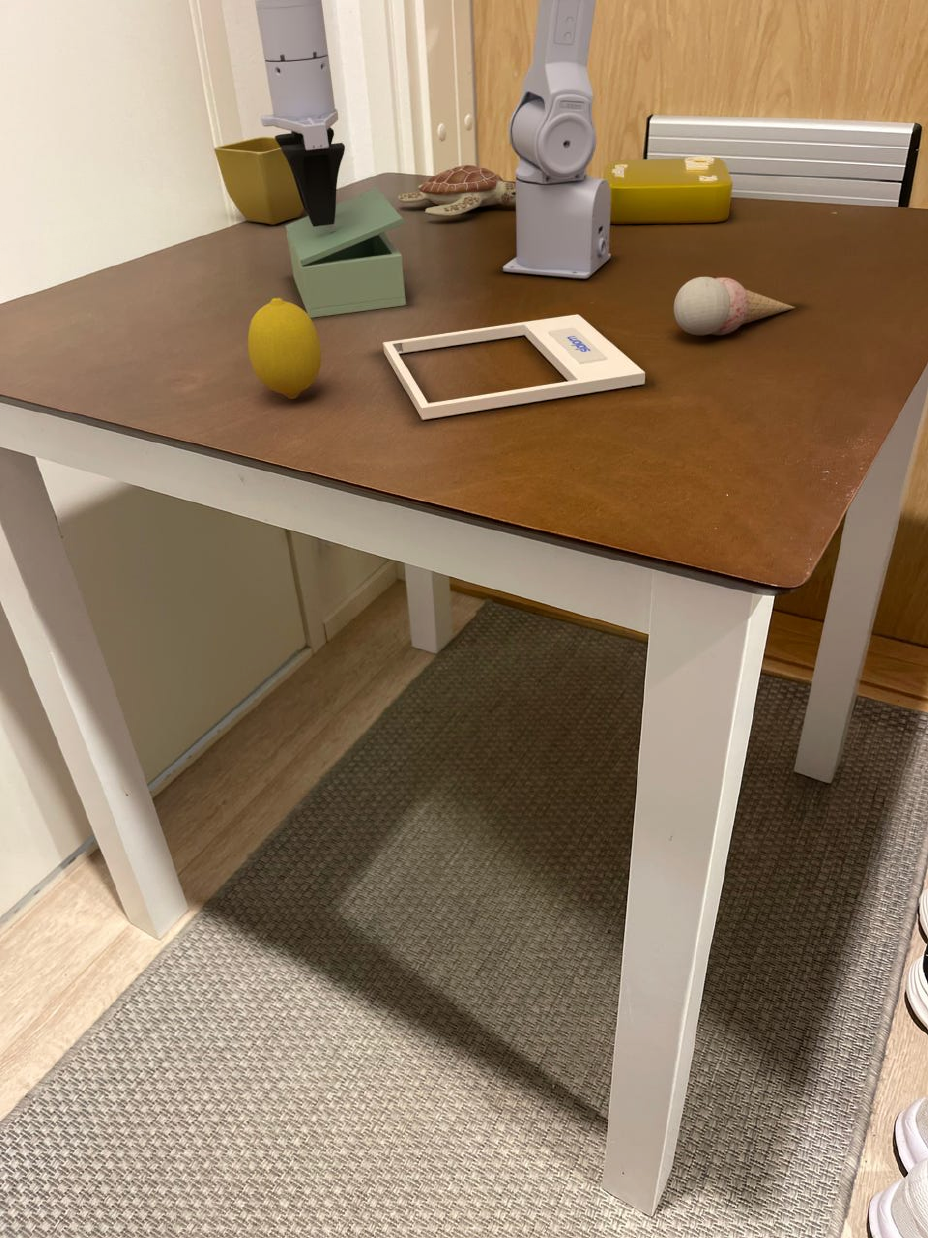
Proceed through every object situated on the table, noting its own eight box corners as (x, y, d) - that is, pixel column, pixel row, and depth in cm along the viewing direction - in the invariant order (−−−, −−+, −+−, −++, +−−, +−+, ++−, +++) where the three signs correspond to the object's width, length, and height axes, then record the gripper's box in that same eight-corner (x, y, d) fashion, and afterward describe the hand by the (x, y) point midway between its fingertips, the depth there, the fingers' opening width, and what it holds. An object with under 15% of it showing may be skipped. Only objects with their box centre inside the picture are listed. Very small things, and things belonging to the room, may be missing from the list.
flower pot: (274, 208, 127) (262, 134, 122) (321, 215, 123) (311, 139, 117) (226, 223, 122) (211, 147, 116) (274, 231, 117) (261, 152, 112)
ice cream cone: (776, 339, 88) (664, 340, 80) (772, 287, 88) (659, 284, 80) (819, 328, 84) (707, 328, 76) (815, 274, 84) (701, 268, 76)
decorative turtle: (495, 229, 113) (494, 184, 110) (376, 220, 119) (372, 177, 116) (549, 194, 126) (550, 153, 123) (439, 187, 132) (437, 148, 129)
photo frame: (645, 370, 73) (421, 405, 70) (644, 383, 74) (422, 419, 70) (578, 312, 84) (382, 340, 81) (577, 324, 85) (384, 352, 82)
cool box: (380, 267, 103) (376, 221, 100) (406, 305, 92) (401, 254, 89) (293, 278, 101) (286, 231, 98) (309, 318, 90) (301, 267, 88)
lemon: (314, 414, 72) (298, 311, 68) (247, 411, 73) (227, 309, 69) (336, 385, 77) (323, 286, 72) (273, 383, 78) (255, 285, 73)
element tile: (603, 195, 124) (605, 155, 121) (720, 193, 122) (724, 152, 119) (601, 225, 112) (602, 182, 109) (730, 223, 110) (735, 179, 107)
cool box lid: (378, 193, 98) (362, 146, 95) (404, 223, 88) (387, 172, 85) (287, 231, 98) (268, 185, 95) (302, 266, 88) (281, 216, 85)
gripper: (246, 53, 89) (271, 205, 97) (258, 70, 77) (286, 241, 86) (319, 46, 90) (339, 197, 98) (342, 62, 79) (362, 231, 87)
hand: (319, 217), depth 92 cm, fingers closed on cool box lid, 5 cm apart
